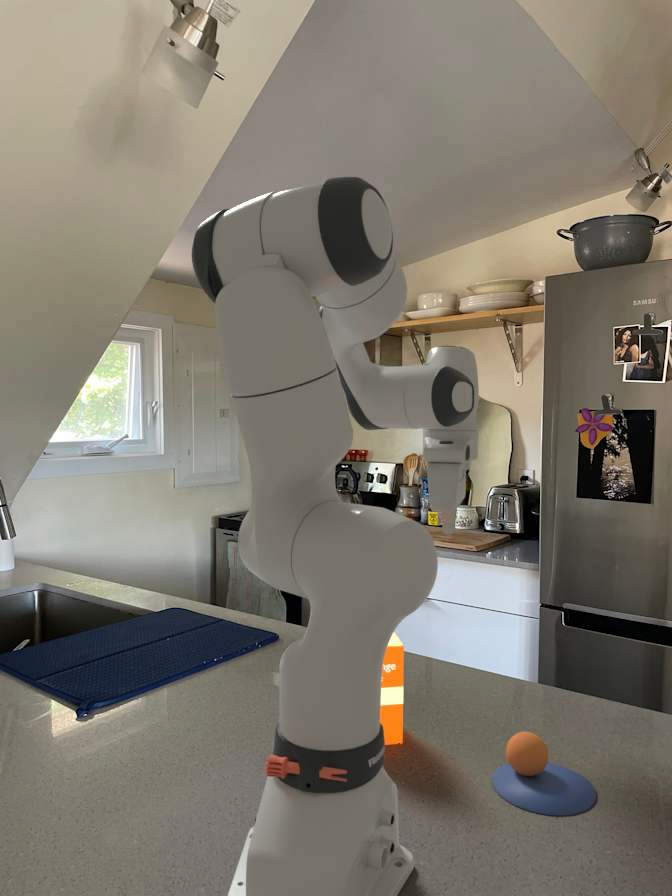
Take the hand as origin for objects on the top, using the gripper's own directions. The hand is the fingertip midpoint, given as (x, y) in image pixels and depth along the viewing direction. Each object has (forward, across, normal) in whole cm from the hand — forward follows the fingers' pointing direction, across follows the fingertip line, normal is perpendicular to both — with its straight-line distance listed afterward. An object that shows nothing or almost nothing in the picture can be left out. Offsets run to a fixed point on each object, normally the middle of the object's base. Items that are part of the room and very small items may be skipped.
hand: (448, 533), depth 114 cm
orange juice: (+29, +12, -10) cm, 33 cm away
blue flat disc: (+29, +21, +15) cm, 39 cm away
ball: (+26, +18, +13) cm, 35 cm away
